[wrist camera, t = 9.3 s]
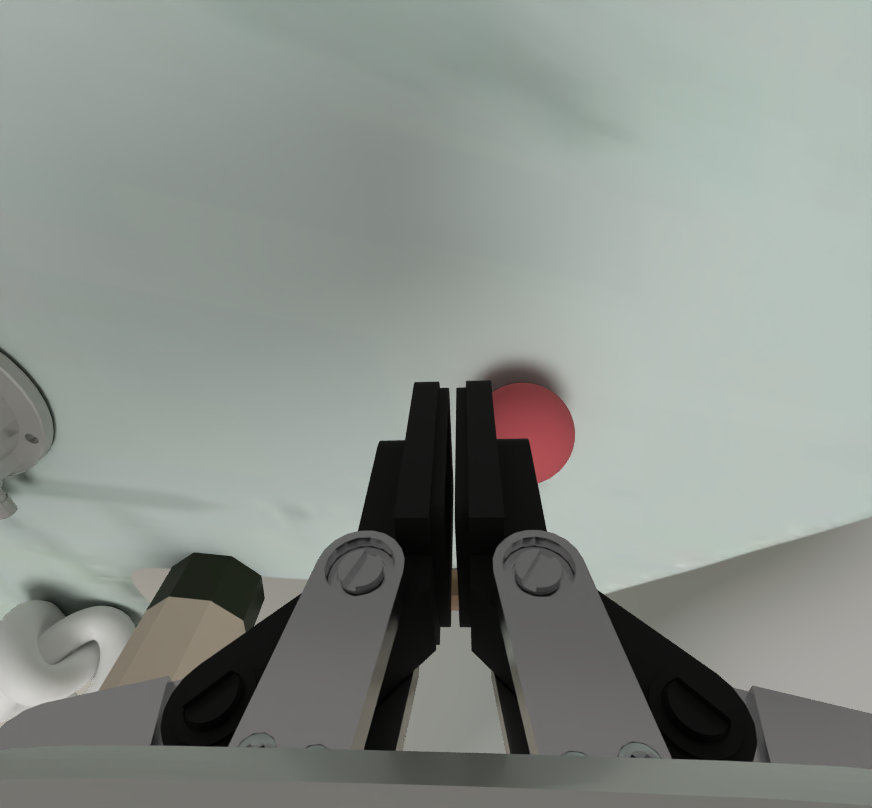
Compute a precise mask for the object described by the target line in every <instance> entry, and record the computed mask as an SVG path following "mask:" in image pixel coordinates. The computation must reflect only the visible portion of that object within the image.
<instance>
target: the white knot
mask: <svg viewBox="0 0 872 808" xmlns="http://www.w3.org/2000/svg"><path fill="white" fill-rule="evenodd" d="M135 629H136V628H135V625H134V623H133V622H132V620H131V619H130V617H129V616H128V615H127V614H125V613H124V612H123V611H122V610H119V609H117V608H114V607H110V606H93V607H90V608H86V609H83V610H80V611H77V612H75V613H72V614H70V615H68V616H67V617H65V615H64V614H63V613H62V612H61V611H60V609H59V608H58V607H57V606H56V605H55V604H53V603H51V602H48V601H41V600H32V601H28V602H26V603H23V604H20V605H18V606H16V607H15V608H13V609H12V610H11V611H10V612H9V613H8V614H7V615H6V616H4V618H3V619H2V620H1V621H0V723H1V722H4V721H6V720H9V719H11V718H14V717H15V716H17V715H18V714H20V713H21V712H23V711H24V710H26V709H29V708H32V707H34V706H37V705H40V704H42V703H46V702H51V701H55V700H60V699H64V698H69V697H74V696H77V694H76V691H78V690H79V689H80V688H82V687H83V686H84V685H85V684H87V683H88V682H89V681H90V680H92V679H93V678H94V679H93V681H92V683H91V684H90V686H89V688H88V689H87V690H86V691H85V693H84V694H87V693H92V692H96V691H98V690H99V689H100V687H101V685H102V684H103V682H104V680H105V679H106V677H107V675H108V674H109V672H110V670H111V669H112V667H113V665H114V664H115V662H116V660H117V659H118V657H119V655H120V654H121V652H122V650H123V649H124V647H125V645H126V644H127V642H128V640H129V639H130V637H131V635H132V634H133V632H134V630H135Z"/></svg>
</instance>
